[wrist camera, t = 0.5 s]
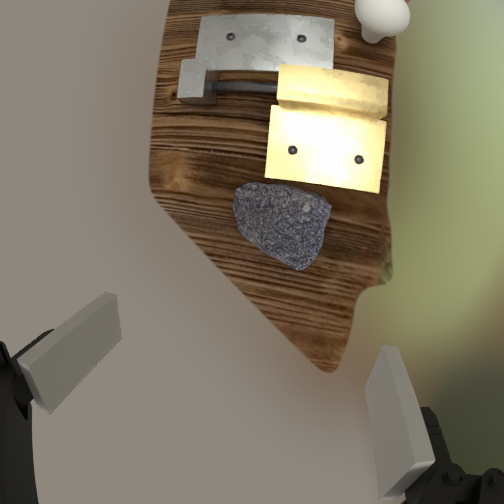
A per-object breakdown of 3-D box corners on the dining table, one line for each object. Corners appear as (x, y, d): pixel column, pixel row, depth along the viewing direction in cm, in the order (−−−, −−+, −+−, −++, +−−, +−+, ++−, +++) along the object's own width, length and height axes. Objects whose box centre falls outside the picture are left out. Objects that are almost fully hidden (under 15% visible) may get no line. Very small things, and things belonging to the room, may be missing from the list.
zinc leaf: (203, 19, 31) (191, 4, 26) (382, 31, 27) (390, 16, 22) (192, 104, 35) (177, 97, 30) (380, 121, 31) (391, 116, 27)
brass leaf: (275, 75, 32) (270, 63, 27) (385, 91, 30) (396, 81, 25) (265, 176, 36) (260, 178, 31) (376, 192, 34) (387, 197, 29)
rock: (335, 191, 31) (317, 279, 33) (332, 193, 36) (317, 269, 38) (230, 174, 33) (217, 258, 35) (242, 177, 38) (230, 251, 40)
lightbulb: (337, 31, 28) (345, -11, 18) (370, 13, 27) (386, -29, 16) (368, 64, 29) (389, 31, 19) (400, 46, 27) (428, 12, 17)
